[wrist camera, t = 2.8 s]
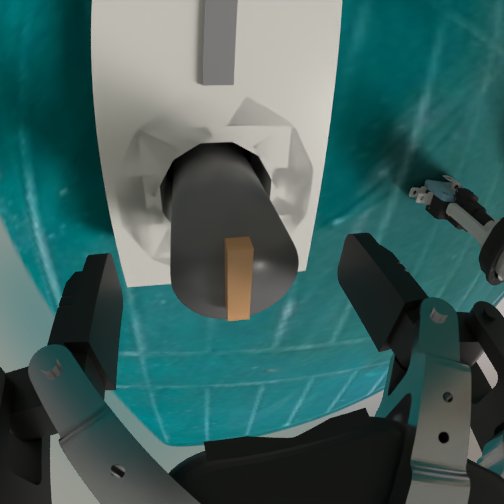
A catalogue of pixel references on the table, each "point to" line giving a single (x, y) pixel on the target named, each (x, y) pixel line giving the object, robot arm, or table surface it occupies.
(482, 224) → the push button
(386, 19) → the table surface
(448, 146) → the table surface
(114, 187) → the light grey boxy piece
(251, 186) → the dark grey cylinder
